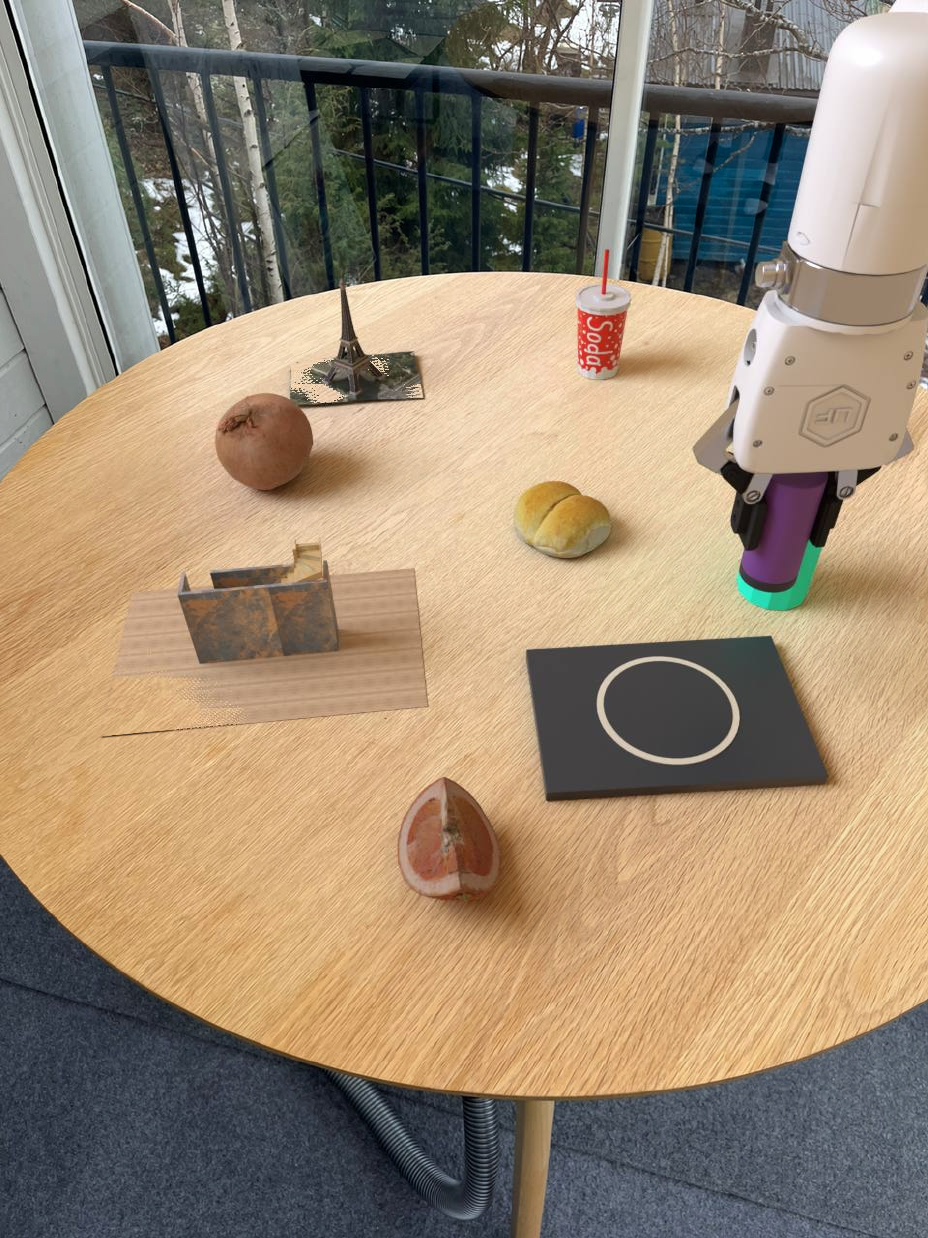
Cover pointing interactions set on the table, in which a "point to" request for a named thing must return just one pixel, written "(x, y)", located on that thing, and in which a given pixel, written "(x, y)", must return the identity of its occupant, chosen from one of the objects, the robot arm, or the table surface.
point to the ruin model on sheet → (283, 640)
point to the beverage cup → (601, 326)
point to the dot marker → (784, 531)
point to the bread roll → (561, 520)
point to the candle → (787, 597)
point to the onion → (264, 441)
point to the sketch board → (668, 719)
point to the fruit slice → (448, 845)
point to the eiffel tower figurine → (361, 369)
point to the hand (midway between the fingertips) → (778, 534)
